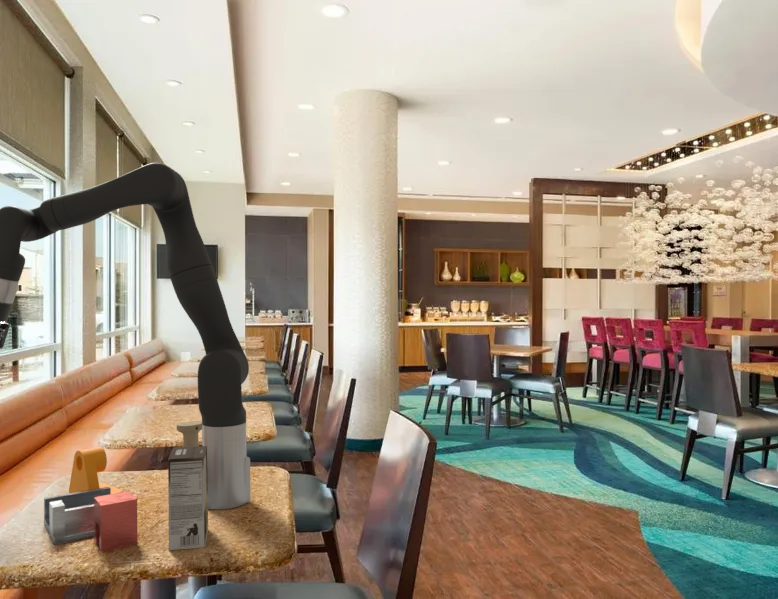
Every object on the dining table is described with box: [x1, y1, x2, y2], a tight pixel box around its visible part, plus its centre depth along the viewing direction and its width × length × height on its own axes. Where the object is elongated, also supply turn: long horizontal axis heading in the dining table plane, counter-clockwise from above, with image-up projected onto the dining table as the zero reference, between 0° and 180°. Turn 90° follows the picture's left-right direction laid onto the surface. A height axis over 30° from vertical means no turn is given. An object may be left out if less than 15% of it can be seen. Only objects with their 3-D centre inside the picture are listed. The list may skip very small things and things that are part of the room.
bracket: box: [68, 446, 124, 494], centre depth 135 cm, size 11×7×12 cm, turn 49°
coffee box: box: [167, 445, 209, 551], centre depth 113 cm, size 9×6×16 cm
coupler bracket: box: [43, 487, 111, 546], centre depth 120 cm, size 12×14×6 cm
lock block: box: [93, 490, 138, 553], centre depth 112 cm, size 6×6×8 cm
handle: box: [176, 420, 202, 447], centre depth 145 cm, size 5×6×15 cm
